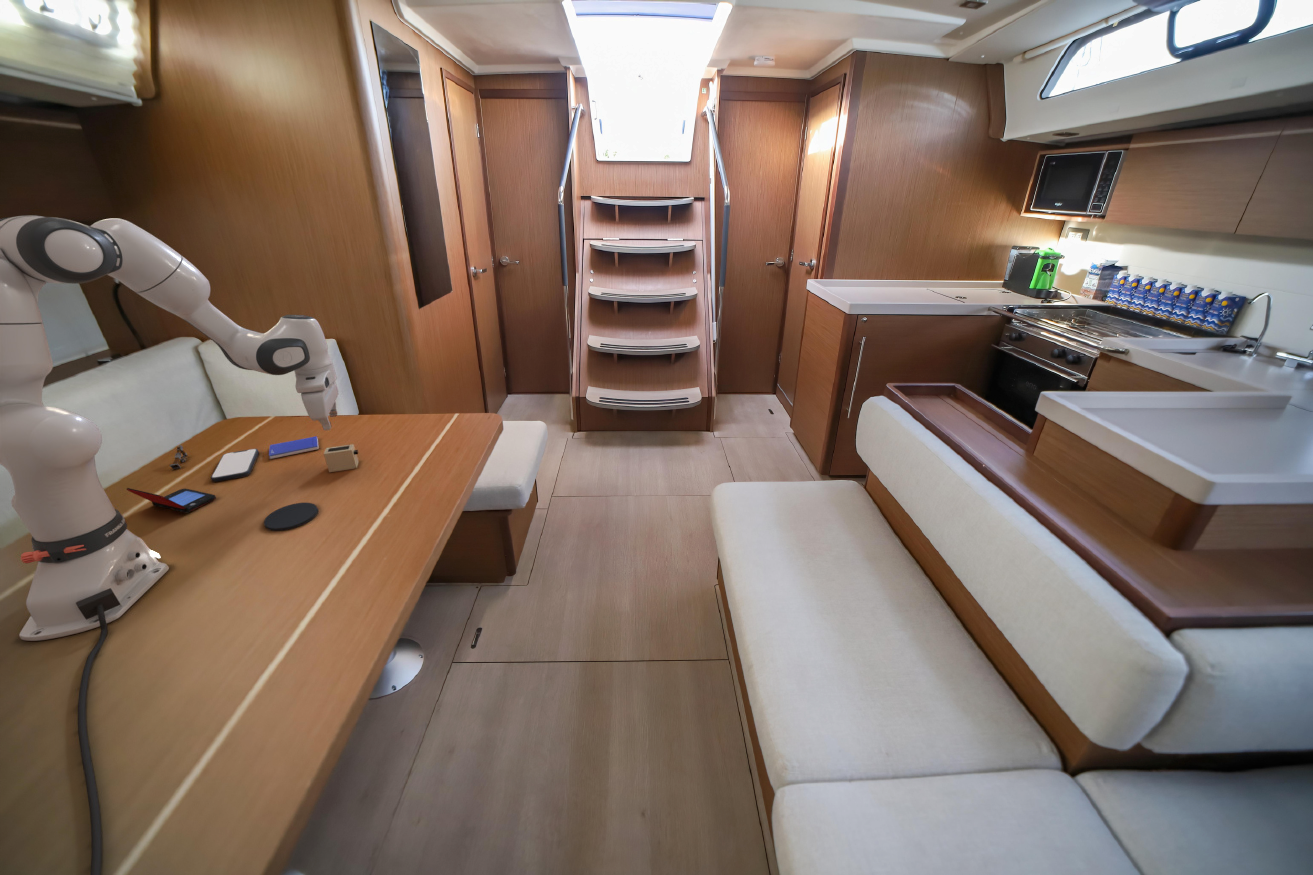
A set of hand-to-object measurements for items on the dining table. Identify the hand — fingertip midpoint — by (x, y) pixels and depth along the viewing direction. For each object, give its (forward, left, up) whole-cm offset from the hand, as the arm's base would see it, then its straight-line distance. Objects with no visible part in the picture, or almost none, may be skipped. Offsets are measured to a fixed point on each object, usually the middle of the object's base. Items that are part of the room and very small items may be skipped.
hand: (331, 422), depth 140 cm
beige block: (0, 0, -14) cm, 14 cm away
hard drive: (+18, +16, -15) cm, 28 cm away
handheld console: (-8, +36, -15) cm, 40 cm away
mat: (-24, +8, -14) cm, 29 cm away
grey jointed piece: (+19, +45, -15) cm, 51 cm away
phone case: (+11, +29, -15) cm, 34 cm away
